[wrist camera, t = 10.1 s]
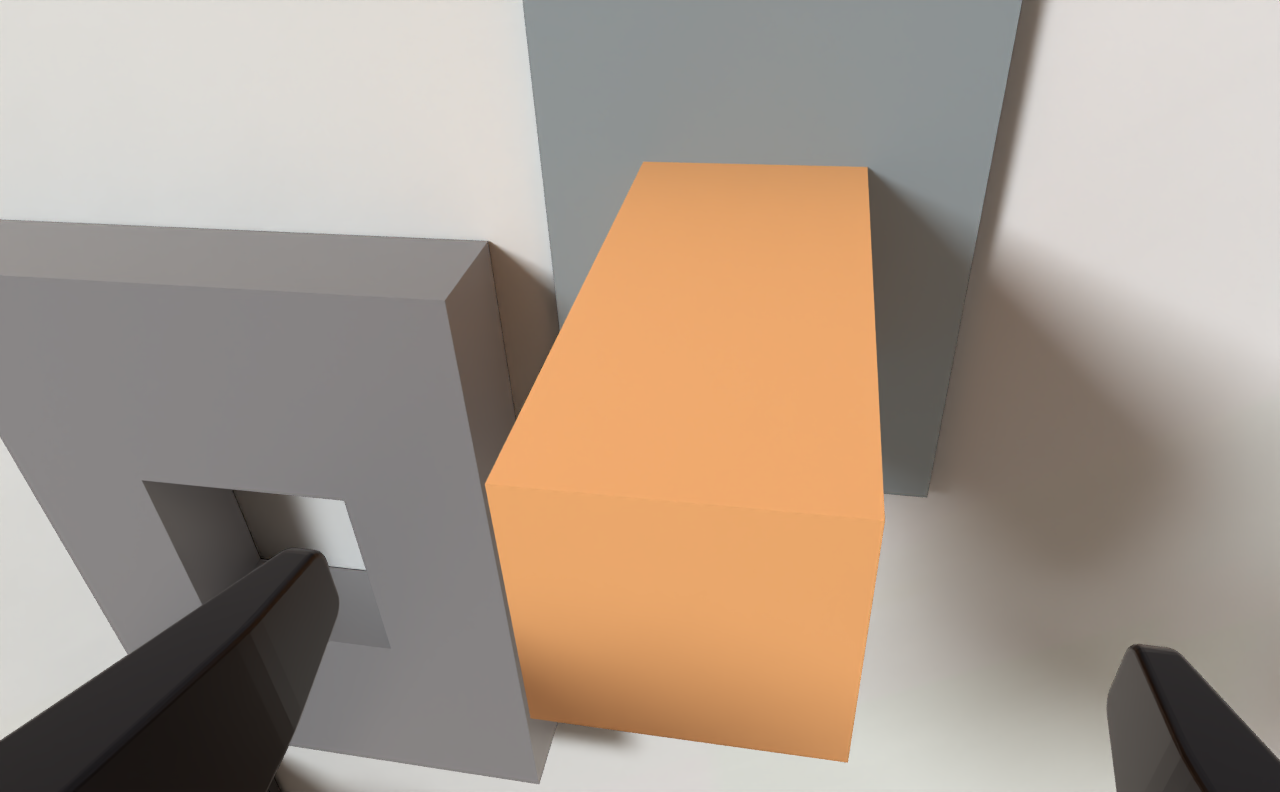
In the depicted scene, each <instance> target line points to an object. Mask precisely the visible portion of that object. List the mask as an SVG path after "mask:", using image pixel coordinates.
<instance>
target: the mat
mask: <svg viewBox="0 0 1280 792" xmlns="http://www.w3.org/2000/svg"><path fill="white" fill-rule="evenodd" d="M1021 5H1022V0H523V8H524V17H525V26H526V35H527V44H528V53H529V62H530V71H531V80H532V89H533V97H534V106H535V115H536V124H537V133H538V142H539V151H540V160H541V169H542V178H543V186H544V195H545V204H546V213H547V222H548V231H549V240H550V249H551V258H552V267H553V275H554V284H555V293H556V302H557V311H558V320H559V329H560V330H561V328H562V326H563V324H564V322H565V320H566V318H567V316H568V314H569V312H570V310H571V308H572V306H573V304H574V302H575V300H576V298H577V295H578V293H579V291H580V289H581V287H582V285H583V283H584V281H585V279H586V277H587V275H588V273H589V271H590V269H591V267H592V265H593V263H594V261H595V259H596V257H597V255H598V253H599V251H600V249H601V247H602V245H603V243H604V241H605V239H606V237H607V234H608V232H609V230H610V228H611V226H612V224H613V222H614V220H615V218H616V216H617V214H618V212H619V210H620V208H621V206H622V204H623V202H624V200H625V198H626V196H627V194H628V192H629V190H630V188H631V186H632V184H633V182H634V180H635V178H636V176H637V173H638V171H639V169H640V167H641V165H642V163H643V162H679V163H721V164H764V165H806V166H849V167H867V168H868V188H869V208H870V229H871V249H872V269H873V290H874V310H875V330H876V350H877V371H878V391H879V411H880V432H881V452H882V472H883V493H884V494H894V495H905V496H916V497H927V495H928V490H929V484H930V479H931V474H932V469H933V464H934V458H935V453H936V448H937V443H938V437H939V432H940V427H941V422H942V417H943V411H944V406H945V401H946V396H947V391H948V385H949V380H950V375H951V370H952V364H953V359H954V354H955V349H956V344H957V338H958V333H959V328H960V323H961V317H962V312H963V307H964V302H965V297H966V291H967V286H968V281H969V276H970V271H971V265H972V260H973V255H974V250H975V244H976V239H977V234H978V229H979V224H980V218H981V213H982V208H983V203H984V198H985V192H986V187H987V182H988V177H989V171H990V166H991V161H992V156H993V151H994V145H995V140H996V135H997V130H998V125H999V119H1000V114H1001V109H1002V104H1003V98H1004V93H1005V88H1006V83H1007V78H1008V72H1009V67H1010V62H1011V57H1012V51H1013V46H1014V41H1015V36H1016V31H1017V25H1018V20H1019V15H1020V10H1021Z"/></svg>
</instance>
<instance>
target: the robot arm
mask: <svg viewBox="0 0 1280 792" xmlns="http://www.w3.org/2000/svg"><path fill="white" fill-rule="evenodd" d="M339 604H340V602H339V595H338V592H337V589H336V586H335V583H334V580H333V577H332V575H331V572H330V569H329V566H328V563H327V560H326V558H325V556H324V555H323V554H322V553H321V552H320V551H317V550H309V549H300V548H289V549H286V550H284V551H282V552H280V553H279V554H277V555H276V556H274V557H273V558H271V559H270V560H268V561H267V562H265V563H264V564H262V565H261V566H259V567H258V568H256V569H255V570H253V571H252V572H250V573H249V574H247V575H246V576H244V577H243V578H241V579H240V580H238V581H237V582H235V583H234V584H232V585H231V586H229V587H228V588H226V589H225V590H223V591H222V592H221V593H219V594H218V595H216V596H215V597H213V598H212V599H210V600H209V601H207V602H206V603H204V604H203V605H201V606H200V607H198V608H197V609H195V610H194V611H192V612H191V613H189V614H188V615H186V616H185V617H183V618H182V619H180V620H179V621H177V622H176V623H174V624H173V625H171V626H170V627H168V628H167V629H165V630H164V631H162V632H161V633H159V634H158V635H157V636H155V637H154V638H152V639H151V640H149V641H148V642H146V643H145V644H143V645H142V646H140V647H139V648H137V649H136V650H134V651H133V652H131V653H130V654H128V655H127V656H125V657H124V658H122V659H121V660H119V661H118V662H116V663H115V664H113V665H112V666H110V667H109V668H107V669H106V670H104V671H103V672H101V673H100V674H98V675H97V676H95V677H94V678H93V679H91V680H90V681H88V682H87V683H85V684H84V685H82V686H81V687H79V688H78V689H76V690H75V691H73V692H72V693H70V694H69V695H67V696H66V697H64V698H63V699H61V700H60V701H58V702H57V703H55V704H54V705H52V706H51V707H49V708H48V709H46V710H45V711H43V712H42V713H40V714H39V715H37V716H36V717H34V718H33V719H31V720H30V721H29V722H27V723H26V724H24V725H23V726H21V727H20V728H18V729H17V730H15V731H14V732H12V733H11V734H9V735H8V736H6V737H5V738H3V739H2V740H0V792H281V791H280V789H279V787H278V785H277V783H276V781H275V779H274V776H275V774H276V771H277V769H278V767H279V765H280V763H281V761H282V759H283V757H284V755H285V753H286V751H287V749H288V746H289V744H290V742H291V740H292V738H293V735H294V733H295V731H296V728H297V726H298V723H299V721H300V718H301V716H302V713H303V711H304V708H305V705H306V702H307V700H308V697H309V694H310V691H311V688H312V686H313V683H314V680H315V677H316V675H317V672H318V669H319V666H320V664H321V661H322V658H323V655H324V653H325V650H326V647H327V644H328V641H329V639H330V636H331V633H332V630H333V628H334V625H335V622H336V619H337V616H338V612H339ZM1107 718H1108V726H1109V734H1110V742H1111V750H1112V758H1113V766H1114V774H1115V782H1116V790H1117V792H1280V760H1279V759H1278V758H1277V757H1276V756H1275V755H1274V754H1273V753H1272V751H1271V750H1270V749H1269V748H1268V747H1267V746H1266V745H1265V744H1264V743H1263V742H1262V741H1261V740H1260V739H1259V737H1258V736H1257V735H1256V734H1255V733H1254V732H1253V731H1252V730H1251V729H1250V728H1249V727H1248V726H1247V725H1246V723H1245V722H1244V721H1243V720H1242V719H1241V718H1240V717H1239V716H1238V715H1237V714H1236V713H1235V712H1234V711H1233V709H1232V708H1231V707H1230V706H1229V705H1228V704H1227V703H1226V702H1225V701H1224V700H1223V699H1222V698H1221V697H1220V695H1219V694H1218V693H1217V692H1216V691H1215V690H1214V689H1213V688H1212V687H1211V686H1210V685H1209V684H1208V683H1207V681H1206V680H1205V679H1204V678H1203V677H1202V676H1201V675H1200V674H1199V673H1198V672H1197V671H1196V670H1195V669H1194V667H1193V666H1192V665H1191V664H1190V663H1189V662H1188V661H1187V660H1186V659H1185V658H1184V657H1183V656H1182V655H1181V654H1180V653H1179V652H1177V651H1176V650H1174V649H1171V648H1167V647H1159V646H1150V645H1142V644H1135V645H1132V646H1130V647H1129V648H1128V649H1127V651H1126V653H1125V655H1124V657H1123V659H1122V662H1121V664H1120V666H1119V669H1118V671H1117V674H1116V676H1115V678H1114V681H1113V683H1112V685H1111V688H1110V690H1109V693H1108V698H1107Z"/></svg>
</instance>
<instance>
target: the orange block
mask: <svg viewBox="0 0 1280 792" xmlns="http://www.w3.org/2000/svg"><path fill="white" fill-rule="evenodd" d="M485 488H486V493H487V498H488V503H489V508H490V513H491V519H492V524H493V529H494V534H495V539H496V544H497V549H498V554H499V559H500V565H501V570H502V575H503V580H504V585H505V590H506V595H507V600H508V605H509V610H510V616H511V621H512V626H513V631H514V636H515V641H516V646H517V651H518V656H519V662H520V667H521V672H522V677H523V682H524V687H525V692H526V697H527V702H528V707H529V713H530V718H532V719H539V720H546V721H553V722H560V723H568V724H575V725H582V726H589V727H596V728H603V729H611V730H618V731H625V732H632V733H639V734H646V735H654V736H661V737H668V738H675V739H682V740H690V741H697V742H704V743H711V744H718V745H725V746H733V747H740V748H747V749H754V750H761V751H769V752H776V753H783V754H790V755H797V756H804V757H812V758H819V759H826V760H833V761H840V762H848V758H849V751H850V745H851V738H852V732H853V725H854V719H855V712H856V706H857V699H858V693H859V686H860V680H861V673H862V667H863V660H864V653H865V647H866V640H867V634H868V627H869V621H870V614H871V608H872V601H873V595H874V588H875V582H876V575H877V569H878V562H879V556H880V549H881V543H882V536H883V530H884V523H885V513H884V493H883V472H882V452H881V432H880V411H879V391H878V371H877V350H876V330H875V310H874V290H873V269H872V249H871V229H870V208H869V188H868V168H867V167H849V166H806V165H764V164H721V163H679V162H643V163H642V165H641V167H640V169H639V171H638V173H637V176H636V178H635V180H634V182H633V184H632V186H631V188H630V190H629V192H628V194H627V196H626V198H625V200H624V202H623V204H622V206H621V208H620V210H619V212H618V214H617V216H616V218H615V220H614V222H613V224H612V226H611V228H610V230H609V232H608V234H607V237H606V239H605V241H604V243H603V245H602V247H601V249H600V251H599V253H598V255H597V257H596V259H595V261H594V263H593V265H592V267H591V269H590V271H589V273H588V275H587V277H586V279H585V281H584V283H583V285H582V287H581V289H580V291H579V293H578V295H577V298H576V300H575V302H574V304H573V306H572V308H571V310H570V312H569V314H568V316H567V318H566V320H565V322H564V324H563V326H562V328H561V330H560V332H559V334H558V336H557V338H556V340H555V342H554V344H553V346H552V348H551V350H550V352H549V354H548V356H547V359H546V361H545V363H544V365H543V367H542V369H541V371H540V373H539V375H538V377H537V379H536V381H535V383H534V385H533V387H532V389H531V391H530V393H529V395H528V397H527V399H526V401H525V403H524V405H523V407H522V409H521V411H520V413H519V415H518V417H517V420H516V422H515V424H514V426H513V428H512V430H511V432H510V434H509V436H508V438H507V440H506V442H505V444H504V446H503V448H502V450H501V452H500V454H499V456H498V458H497V460H496V462H495V464H494V466H493V468H492V470H491V472H490V474H489V476H488V478H487V481H486V483H485Z"/></svg>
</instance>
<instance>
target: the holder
mask: <svg viewBox="0 0 1280 792" xmlns="http://www.w3.org/2000/svg"><path fill="white" fill-rule="evenodd" d="M515 422H516V418H515V411H514V405H513V399H512V392H511V386H510V379H509V373H508V367H507V360H506V354H505V347H504V341H503V335H502V328H501V322H500V316H499V309H498V303H497V296H496V290H495V284H494V277H493V271H492V264H491V258H490V252H489V245H488V241H472V240H449V239H426V238H404V237H381V236H358V235H336V234H313V233H290V232H267V231H245V230H222V229H199V228H176V227H154V226H131V225H108V224H85V223H63V222H40V221H17V220H0V437H1V439H2V441H3V442H4V444H5V446H6V447H7V449H8V451H9V453H10V454H11V456H12V458H13V459H14V461H15V463H16V464H17V466H18V468H19V470H20V471H21V473H22V475H23V476H24V478H25V480H26V482H27V483H28V485H29V487H30V488H31V490H32V492H33V494H34V495H35V497H36V499H37V500H38V502H39V504H40V505H41V507H42V509H43V511H44V512H45V514H46V516H47V517H48V519H49V521H50V523H51V524H52V526H53V528H54V529H55V531H56V533H57V534H58V536H59V538H60V540H61V541H62V543H63V545H64V546H65V548H66V550H67V552H68V553H69V555H70V557H71V558H72V560H73V562H74V564H75V565H76V567H77V569H78V570H79V572H80V574H81V575H82V577H83V579H84V581H85V582H86V584H87V586H88V587H89V589H90V591H91V593H92V594H93V596H94V598H95V599H96V601H97V603H98V604H99V606H100V608H101V610H102V611H103V613H104V615H105V616H106V618H107V620H108V622H109V623H110V625H111V627H112V628H113V630H114V632H115V633H116V635H117V637H118V639H119V640H120V642H121V644H122V645H123V647H124V649H125V651H126V652H127V654H130V653H131V652H133V651H134V650H136V649H137V648H139V647H140V646H142V645H143V644H145V643H146V642H148V641H149V640H151V639H152V638H154V637H155V636H157V635H158V634H159V633H161V632H162V631H164V630H165V629H167V628H168V627H170V626H171V625H173V624H174V623H176V622H177V621H179V620H180V619H182V618H183V617H185V616H186V615H188V614H189V613H191V612H192V611H194V610H195V609H197V608H198V607H200V606H201V605H203V604H204V603H206V602H207V601H209V600H210V599H212V598H213V597H215V596H216V595H218V594H219V593H221V592H222V591H223V590H225V589H226V588H228V587H229V586H231V585H232V584H234V583H235V582H237V581H238V580H240V579H241V578H243V577H244V576H246V575H247V574H249V573H250V572H252V571H253V570H255V569H256V568H258V567H259V566H261V565H262V564H264V563H265V562H267V561H268V560H265V559H260V556H259V554H258V552H257V549H256V547H255V544H254V542H253V539H252V537H251V535H250V532H249V530H248V527H247V525H246V522H245V520H244V518H243V515H242V513H241V510H240V508H239V505H238V503H237V501H236V498H235V496H234V493H233V491H232V489H233V490H243V491H253V492H263V493H273V494H283V495H293V496H303V497H313V498H323V499H333V500H343V501H344V502H345V505H346V508H347V511H348V515H349V518H350V521H351V524H352V527H353V530H354V533H355V537H356V540H357V543H358V546H359V549H360V552H361V555H362V559H363V562H364V565H365V568H366V571H361V570H352V569H344V568H335V567H329V569H330V572H331V575H332V577H333V580H334V583H335V586H336V589H337V592H338V595H339V602H340V604H339V612H338V616H337V619H336V622H335V625H334V628H333V630H332V633H331V636H330V639H329V641H328V644H327V647H326V650H325V653H324V655H323V658H322V661H321V664H320V666H319V669H318V672H317V675H316V677H315V680H314V683H313V686H312V688H311V691H310V694H309V697H308V700H307V702H306V705H305V708H304V711H303V713H302V716H301V718H300V721H299V723H298V726H297V728H296V731H295V733H294V735H293V738H292V740H291V742H290V744H289V746H295V747H301V748H308V749H314V750H321V751H327V752H334V753H340V754H347V755H353V756H360V757H366V758H373V759H379V760H385V761H392V762H398V763H405V764H411V765H418V766H424V767H431V768H437V769H444V770H450V771H457V772H463V773H470V774H476V775H483V776H489V777H496V778H502V779H508V780H515V781H521V782H528V783H534V784H539V783H540V780H541V777H542V773H543V770H544V767H545V763H546V760H547V756H548V753H549V750H550V746H551V743H552V740H553V736H554V733H555V729H556V726H557V723H558V722H553V721H546V720H539V719H532V718H530V713H529V707H528V702H527V697H526V692H525V687H524V682H523V677H522V672H521V667H520V662H519V656H518V651H517V646H516V641H515V636H514V631H513V626H512V621H511V616H510V610H509V605H508V600H507V595H506V590H505V585H504V580H503V575H502V570H501V565H500V559H499V554H498V549H497V544H496V539H495V534H494V529H493V524H492V519H491V513H490V508H489V503H488V498H487V493H486V488H485V483H486V481H487V478H488V476H489V474H490V472H491V470H492V468H493V466H494V464H495V462H496V460H497V458H498V456H499V454H500V452H501V450H502V448H503V446H504V444H505V442H506V440H507V438H508V436H509V434H510V432H511V430H512V428H513V426H514V424H515Z"/></svg>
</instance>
